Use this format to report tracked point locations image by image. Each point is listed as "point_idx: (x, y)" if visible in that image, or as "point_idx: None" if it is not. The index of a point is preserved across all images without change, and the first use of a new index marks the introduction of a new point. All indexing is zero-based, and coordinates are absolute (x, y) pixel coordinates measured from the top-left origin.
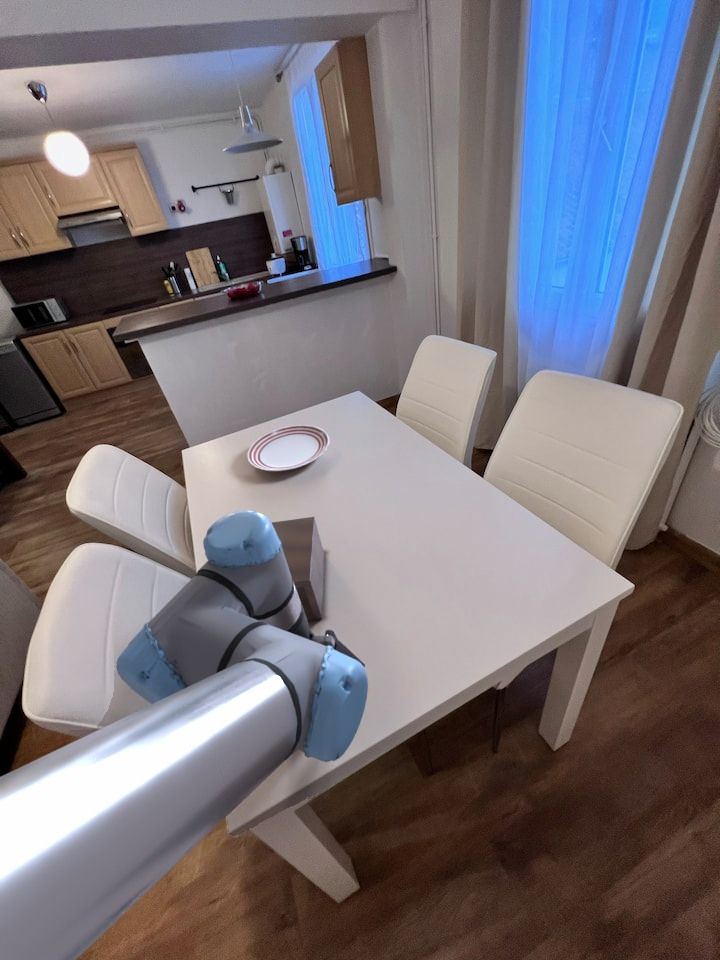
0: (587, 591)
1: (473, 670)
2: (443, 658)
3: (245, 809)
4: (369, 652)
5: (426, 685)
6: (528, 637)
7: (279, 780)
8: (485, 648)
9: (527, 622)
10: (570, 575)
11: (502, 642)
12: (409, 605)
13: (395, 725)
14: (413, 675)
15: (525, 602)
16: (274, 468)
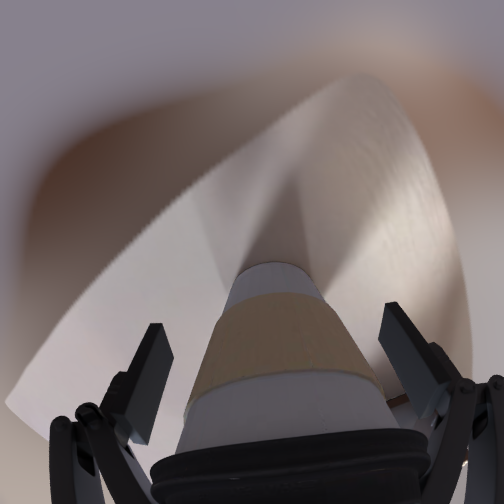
0: (16, 407)
1: (42, 360)
2: (77, 378)
3: (365, 78)
4: (188, 393)
5: (77, 347)
6: (23, 383)
7: (309, 136)
8: (46, 381)
9: (32, 396)
10: (32, 422)
11: (37, 384)
12: (156, 437)
13: (90, 286)
14: (101, 361)
15: (44, 413)
16: None
